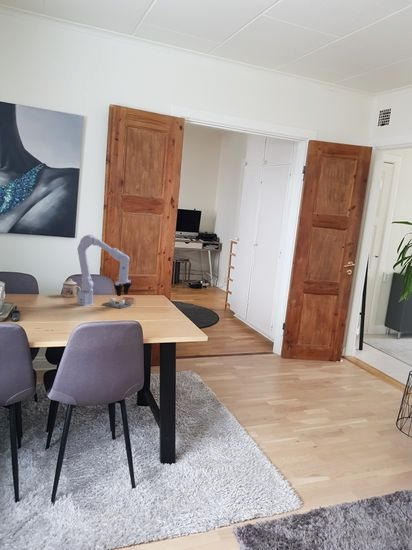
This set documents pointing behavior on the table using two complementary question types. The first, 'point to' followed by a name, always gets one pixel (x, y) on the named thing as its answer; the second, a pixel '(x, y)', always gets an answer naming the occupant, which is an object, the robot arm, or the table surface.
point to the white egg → (121, 303)
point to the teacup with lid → (70, 288)
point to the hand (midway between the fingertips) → (122, 295)
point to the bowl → (129, 300)
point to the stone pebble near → (112, 301)
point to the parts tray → (116, 305)
